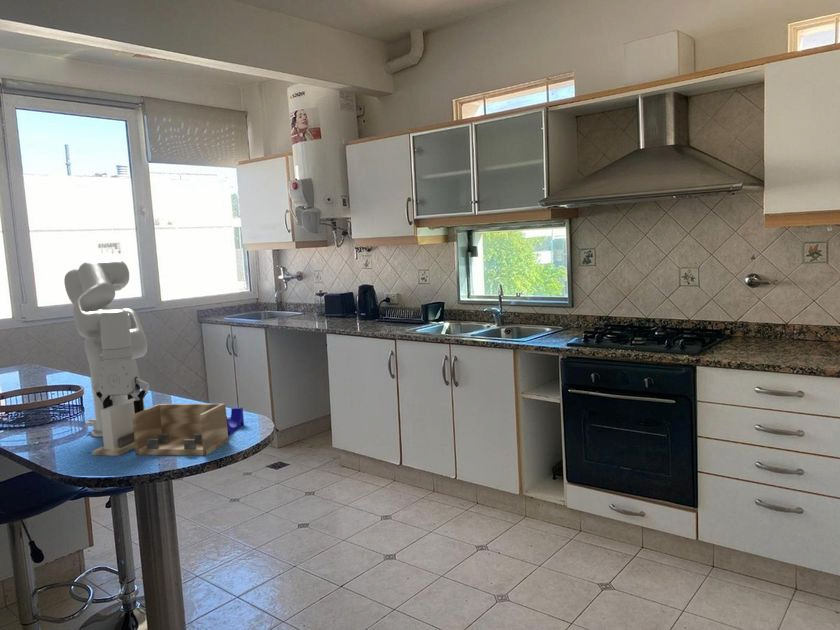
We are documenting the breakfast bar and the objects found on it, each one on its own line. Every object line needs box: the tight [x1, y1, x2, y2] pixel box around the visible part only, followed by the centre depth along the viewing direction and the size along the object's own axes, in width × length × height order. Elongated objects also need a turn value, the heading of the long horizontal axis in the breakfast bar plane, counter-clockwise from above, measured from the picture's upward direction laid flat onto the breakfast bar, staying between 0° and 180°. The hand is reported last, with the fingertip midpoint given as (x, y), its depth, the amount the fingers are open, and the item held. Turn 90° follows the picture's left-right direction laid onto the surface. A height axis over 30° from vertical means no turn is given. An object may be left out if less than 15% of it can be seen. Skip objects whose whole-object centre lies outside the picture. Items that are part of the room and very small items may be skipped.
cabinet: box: [132, 403, 229, 456], centre depth 175 cm, size 21×12×11 cm, turn 79°
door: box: [100, 398, 146, 449], centre depth 181 cm, size 15×4×11 cm, turn 169°
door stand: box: [92, 432, 135, 457], centre depth 181 cm, size 8×18×4 cm, turn 169°
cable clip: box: [226, 406, 245, 436], centre depth 191 cm, size 12×4×6 cm, turn 171°
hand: (124, 413), depth 180 cm, fingers open, 9 cm apart
